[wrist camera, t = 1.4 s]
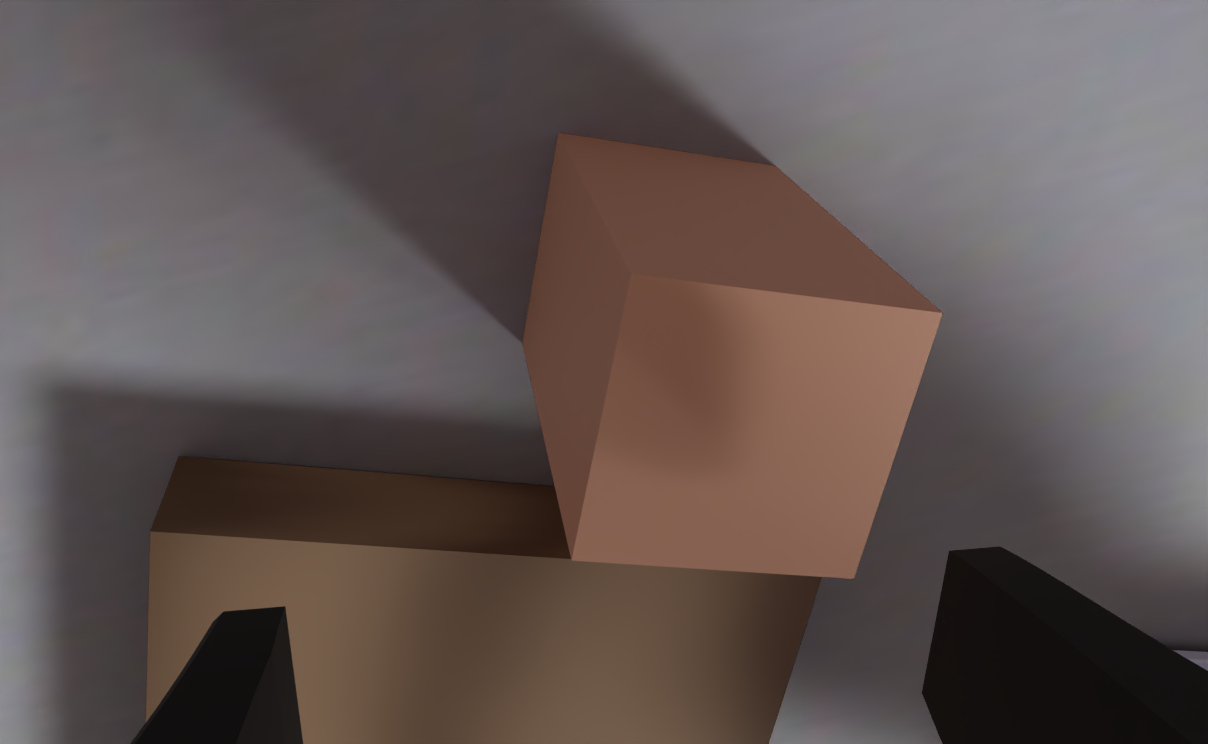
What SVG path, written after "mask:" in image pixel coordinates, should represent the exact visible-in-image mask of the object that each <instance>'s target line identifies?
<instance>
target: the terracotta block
mask: <svg viewBox="0 0 1208 744" xmlns="http://www.w3.org/2000/svg"><path fill="white" fill-rule="evenodd" d="M942 314H943V313H942V312H941V311H940V310H939V309H938V308H937V307H935V306H934V305H933V304H932V303H931V302H930V301H929V300H927V299H926V298H925V297H924V296H923V295H922V294H921V293H919V292H918V291H917V290H916V289H915V288H914V287H913V286H912V285H910V284H909V283H908V282H907V281H906V280H905V279H904V278H902V277H901V276H900V275H899V274H898V273H897V272H896V271H894V270H893V269H892V268H891V267H890V266H889V265H888V264H886V263H885V262H884V261H883V260H882V259H881V258H880V257H879V256H877V255H876V254H875V253H874V252H873V251H872V250H871V249H869V248H868V247H867V246H866V245H865V244H864V243H863V242H861V241H860V240H859V239H858V238H857V237H856V236H855V235H853V234H852V233H851V232H850V231H849V230H848V229H847V228H846V227H844V226H843V225H842V224H841V223H840V222H839V221H838V220H836V219H835V218H834V217H833V216H832V215H831V214H830V213H828V212H827V211H826V210H825V209H824V208H823V207H822V206H820V205H819V204H818V203H817V202H816V201H815V200H814V199H812V198H811V197H810V196H809V195H808V194H807V193H806V192H805V191H803V190H802V189H801V188H800V187H799V186H798V185H797V184H795V183H794V182H793V181H792V180H791V179H790V178H789V177H787V176H786V175H785V174H784V173H783V172H782V171H781V170H779V169H778V168H777V167H776V166H773V165H767V164H760V163H754V162H747V161H741V160H734V159H727V158H721V157H714V156H708V155H701V154H695V153H688V152H682V151H675V150H669V149H662V148H656V147H649V146H642V145H636V144H629V143H623V142H616V141H610V140H603V139H597V138H590V137H584V136H577V135H570V134H564V133H558V137H557V143H556V149H555V155H554V161H553V167H552V173H551V178H550V184H549V190H548V196H547V202H546V208H545V214H544V219H543V225H542V231H541V237H540V243H539V249H538V255H537V260H536V266H535V272H534V278H533V284H532V290H531V296H530V301H529V307H528V313H527V319H526V325H525V331H524V337H523V343H522V344H523V348H524V353H525V357H526V361H527V366H528V370H529V375H530V379H531V384H532V388H533V392H534V397H535V401H536V406H537V410H538V415H539V419H540V423H541V428H542V432H543V437H544V441H545V446H546V450H547V454H548V459H549V463H550V468H551V472H552V476H553V481H554V485H555V490H556V494H557V499H558V503H559V507H560V512H561V516H562V521H563V525H564V530H565V534H566V538H567V543H568V547H569V552H570V556H571V561H585V562H601V563H616V564H631V565H647V566H662V567H678V568H693V569H709V570H724V571H739V572H755V573H770V574H786V575H801V576H817V577H832V578H847V579H854V577H855V574H856V571H857V568H858V565H859V562H860V559H861V556H862V553H863V550H864V547H865V544H866V541H867V538H868V535H869V532H870V529H871V526H872V523H873V520H874V517H875V514H876V511H877V508H878V505H879V502H880V499H881V496H882V493H883V490H884V487H885V484H886V481H887V478H888V475H889V473H890V470H891V467H892V464H893V461H894V458H895V455H896V452H897V449H898V446H899V443H900V440H901V437H902V434H903V431H904V428H905V425H906V422H907V419H908V416H909V413H910V410H911V407H912V404H913V401H914V398H915V395H916V392H917V389H918V386H919V383H920V380H921V377H922V374H923V371H924V368H925V365H926V362H927V359H928V356H929V353H930V350H931V347H932V344H933V341H934V338H935V335H936V332H937V329H938V326H939V323H940V320H941V317H942Z"/></svg>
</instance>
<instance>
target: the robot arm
mask: <svg viewBox="0 0 1208 744" xmlns="http://www.w3.org/2000/svg"><path fill="white" fill-rule="evenodd" d="M922 694H923V697H924V699H925V702H926V704H927V707H928V709H929V712H930V714H931V716H932V719H933V721H934V724H935V726H936V729H937V731H938V734H939V736H940V739H941V741H942V743H943V744H1208V652H1198V651H1180V650H1172V649H1170V648H1168V647H1166V646H1165V645H1163V644H1162V643H1160V642H1158V641H1157V640H1155V639H1153V638H1152V637H1150V636H1148V635H1147V634H1145V633H1143V632H1142V631H1140V630H1138V629H1137V628H1135V627H1134V626H1132V625H1130V624H1129V623H1127V622H1125V621H1124V620H1122V619H1121V618H1119V617H1117V616H1116V615H1114V614H1112V613H1111V612H1109V611H1108V610H1106V609H1104V608H1103V607H1101V606H1100V605H1098V604H1096V603H1095V602H1093V601H1092V600H1090V599H1088V598H1087V597H1085V596H1083V595H1082V594H1080V593H1079V592H1077V591H1075V590H1074V589H1072V588H1071V587H1069V586H1067V585H1066V584H1064V583H1062V582H1061V581H1059V580H1057V579H1056V578H1054V577H1053V576H1051V575H1049V574H1048V573H1046V572H1044V571H1043V570H1041V569H1039V568H1038V567H1036V566H1034V565H1033V564H1031V563H1029V562H1027V561H1026V560H1024V559H1022V558H1020V557H1019V556H1017V555H1015V554H1013V553H1011V552H1009V551H1007V550H1005V549H1004V548H1002V547H990V548H978V549H966V550H954V551H949V555H948V560H947V565H946V570H945V575H944V581H943V586H942V591H941V596H940V601H939V607H938V612H937V617H936V622H935V627H934V633H933V638H932V643H931V648H930V653H929V658H928V664H927V669H926V674H925V679H924V684H923V690H922ZM131 744H303V738H302V730H301V723H300V715H299V707H298V700H297V692H296V684H295V677H294V669H293V661H292V654H291V646H290V638H289V631H288V623H287V615H286V608H285V606H283V607H271V608H259V609H247V610H235V611H223V612H222V613H221V614H220V615H219V616H218V617H217V618H216V619H215V620H214V621H213V622H212V624H211V626H210V627H209V629H208V631H207V632H206V634H205V635H204V637H203V639H202V640H201V642H200V643H199V645H198V647H197V648H196V650H195V651H194V653H193V654H192V656H191V658H190V659H189V661H188V662H187V664H186V665H185V667H184V668H183V670H182V671H181V673H180V674H179V676H178V677H177V679H176V680H175V682H174V683H173V685H172V686H171V688H170V689H169V691H168V692H167V694H166V695H165V696H164V698H163V699H162V701H161V702H160V704H159V705H158V707H157V708H156V710H155V711H154V712H153V714H152V715H151V716H150V718H149V719H148V721H147V722H146V723H145V725H144V726H143V727H142V729H141V730H140V731H139V733H138V734H137V736H136V737H135V738H134V740H133V741H132V742H131Z"/></svg>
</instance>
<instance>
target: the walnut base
mask: <svg viewBox="0 0 1208 744" xmlns="http://www.w3.org/2000/svg"><path fill="white" fill-rule="evenodd" d="M821 579H822V577H817V576H801V575H786V574H770V573H755V572H739V571H724V570H709V569H693V568H678V567H662V566H647V565H631V564H616V563H601V562H585V561H571V556H570V552H569V547H568V543H567V538H566V534H565V530H564V525H563V521H562V516H561V512H560V507H559V503H558V499H557V494H556V490H555V487H554V486H542V485H530V484H517V483H505V482H492V481H480V480H467V479H455V478H442V477H430V476H418V475H405V474H393V473H380V472H368V471H355V470H343V469H331V468H318V467H306V466H293V465H281V464H268V463H256V462H243V461H231V460H219V459H206V458H194V457H181V456H179V457H178V459H177V462H176V465H175V467H174V470H173V473H172V475H171V478H170V481H169V483H168V486H167V488H166V491H165V494H164V496H163V499H162V502H161V504H160V507H159V510H158V512H157V515H156V517H155V520H154V523H153V525H152V528H151V531H150V561H149V605H148V649H147V692H146V722H147V721H148V719H149V718H150V716H151V715H152V714H153V712H154V711H155V710H156V708H157V707H158V705H159V704H160V702H161V701H162V699H163V698H164V696H165V695H166V694H167V692H168V691H169V689H170V688H171V686H172V685H173V683H174V682H175V680H176V679H177V677H178V676H179V674H180V673H181V671H182V670H183V668H184V667H185V665H186V664H187V662H188V661H189V659H190V658H191V656H192V654H193V653H194V651H195V650H196V648H197V647H198V645H199V643H200V642H201V640H202V639H203V637H204V635H205V634H206V632H207V631H208V629H209V627H210V626H211V624H212V622H213V621H214V620H215V619H216V618H217V617H218V616H219V615H220V614H221V613H222V612H223V611H235V610H247V609H259V608H271V607H283V606H285V608H286V615H287V623H288V631H289V638H290V646H291V654H292V661H293V669H294V677H295V684H296V692H297V700H298V707H299V715H300V723H301V730H302V738H303V744H769V741H770V738H771V734H772V731H773V728H774V725H775V722H776V719H777V716H778V713H779V710H780V706H781V703H782V700H783V697H784V694H785V691H786V688H787V685H788V682H789V678H790V675H791V672H792V669H793V666H794V663H795V660H796V657H797V654H798V650H799V647H800V644H801V641H802V638H803V635H804V632H805V629H806V626H807V622H808V619H809V616H810V613H811V610H812V607H813V604H814V601H815V598H816V594H817V591H818V588H819V585H820V582H821Z"/></svg>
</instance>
